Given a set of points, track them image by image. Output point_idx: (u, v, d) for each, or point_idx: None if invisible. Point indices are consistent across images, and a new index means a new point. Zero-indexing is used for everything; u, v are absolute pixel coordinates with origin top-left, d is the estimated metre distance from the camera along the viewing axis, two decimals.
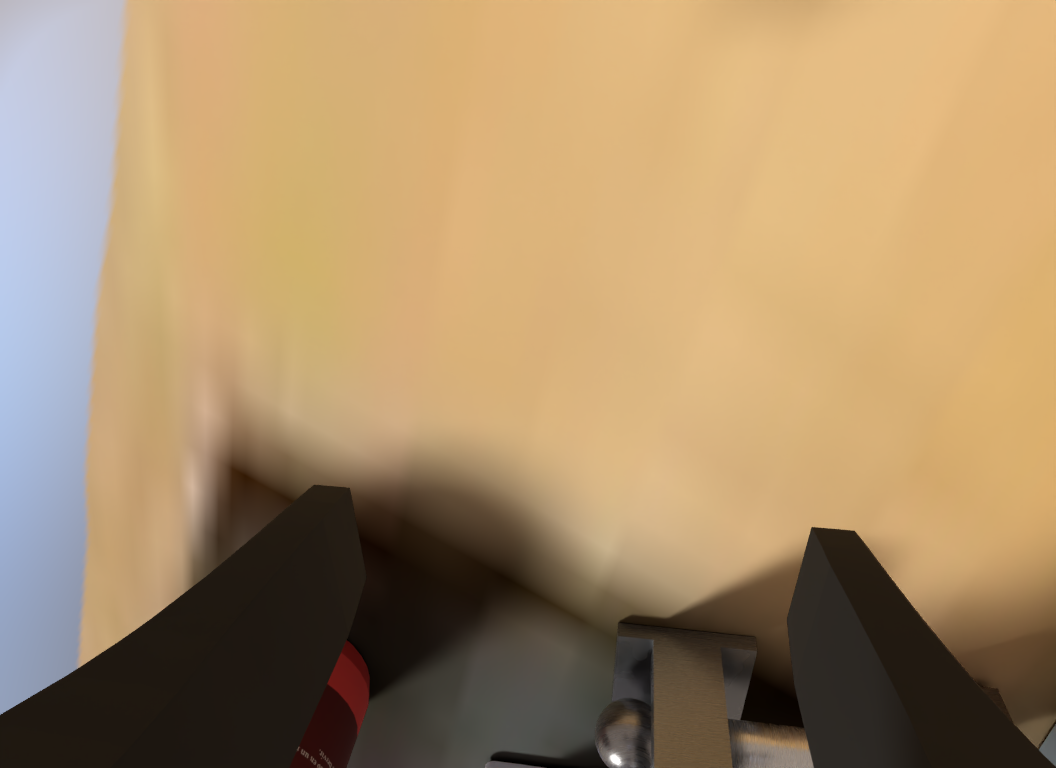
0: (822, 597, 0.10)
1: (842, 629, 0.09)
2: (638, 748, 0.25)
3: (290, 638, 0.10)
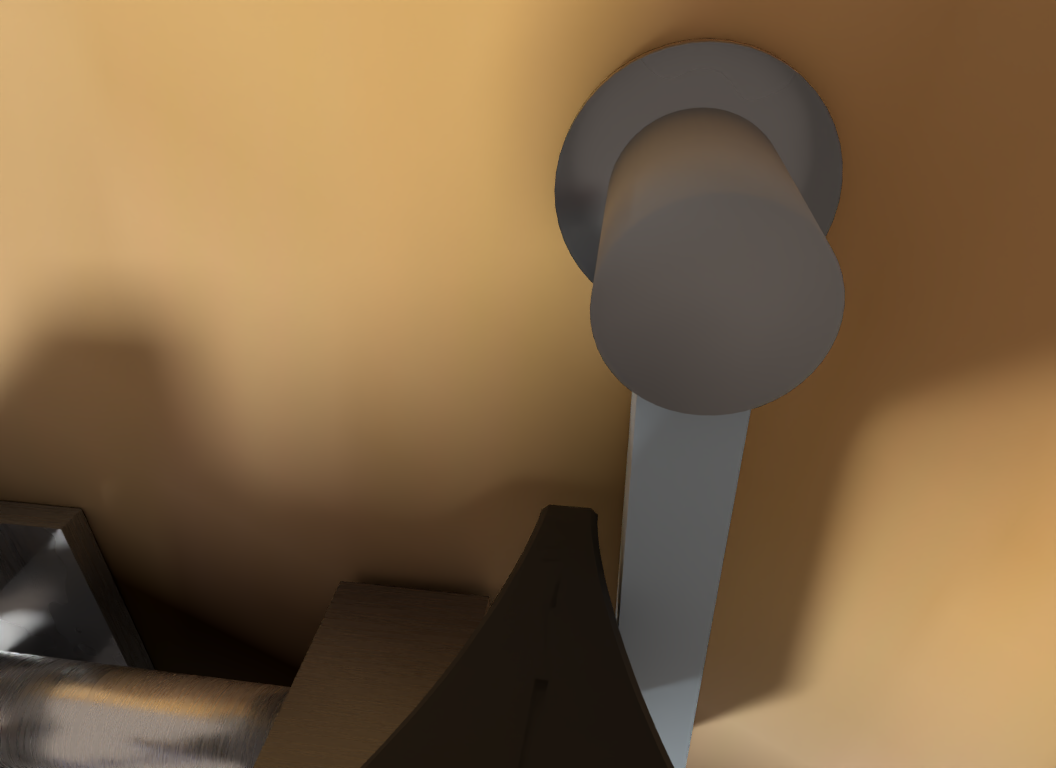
0: None
1: None
2: None
3: None
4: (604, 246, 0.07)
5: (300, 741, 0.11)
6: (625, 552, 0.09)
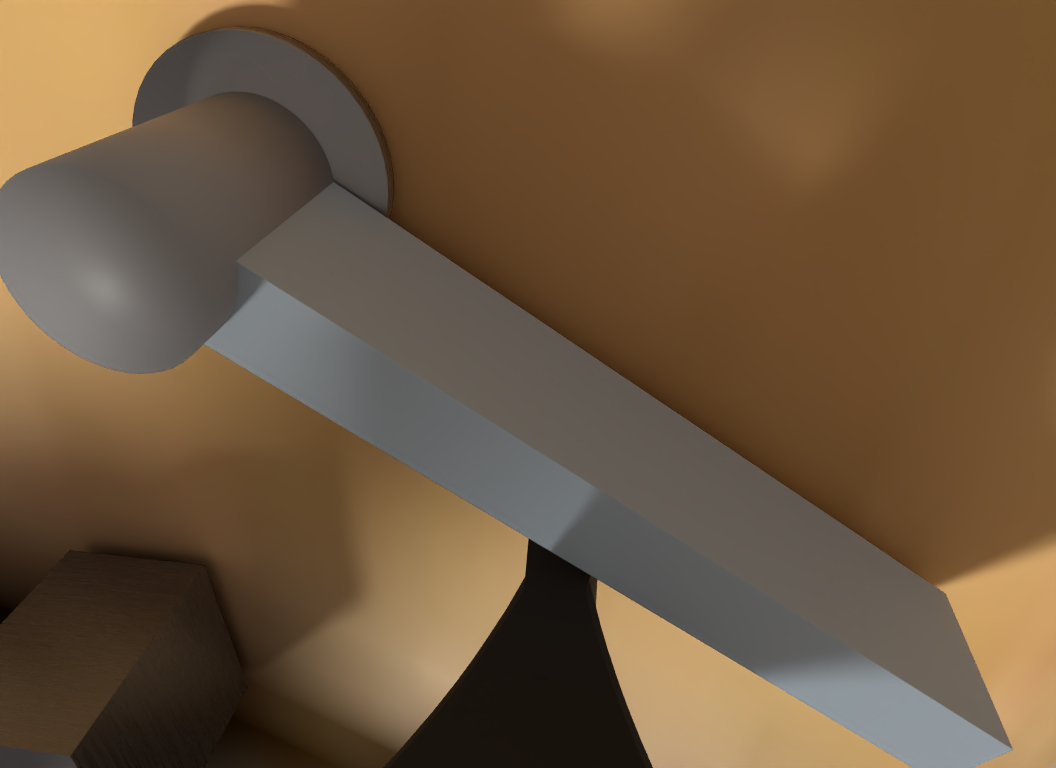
0: None
1: None
2: None
3: None
4: None
5: None
6: (408, 465, 0.09)
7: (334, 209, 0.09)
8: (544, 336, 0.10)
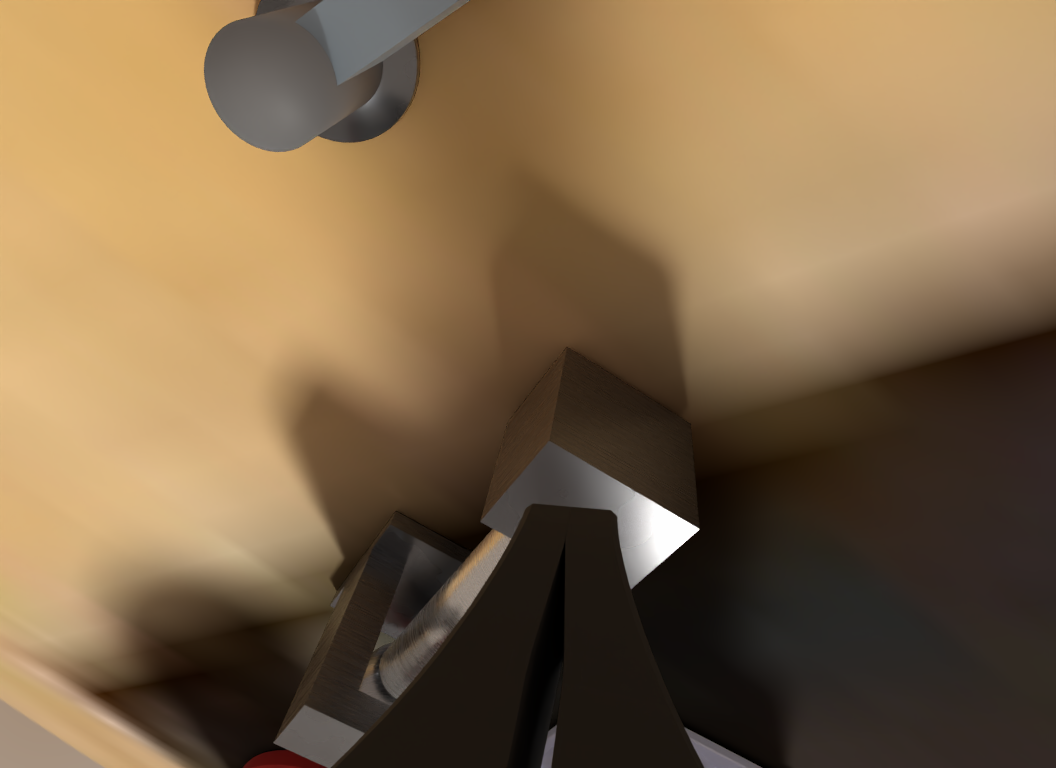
0: (565, 572, 0.10)
1: (564, 601, 0.09)
2: None
3: (545, 667, 0.09)
4: None
5: (497, 487, 0.17)
6: None
7: None
8: None
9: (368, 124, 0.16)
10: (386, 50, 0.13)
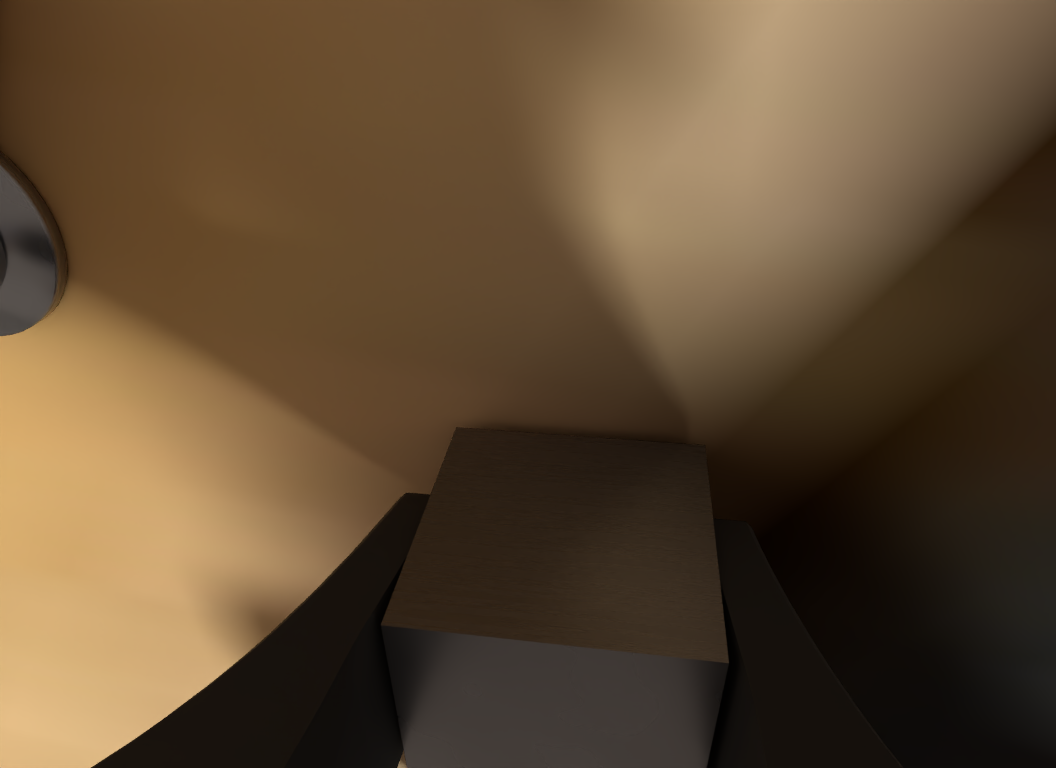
0: None
1: None
2: None
3: None
4: None
5: None
6: None
7: None
8: None
9: (33, 289, 0.12)
10: None
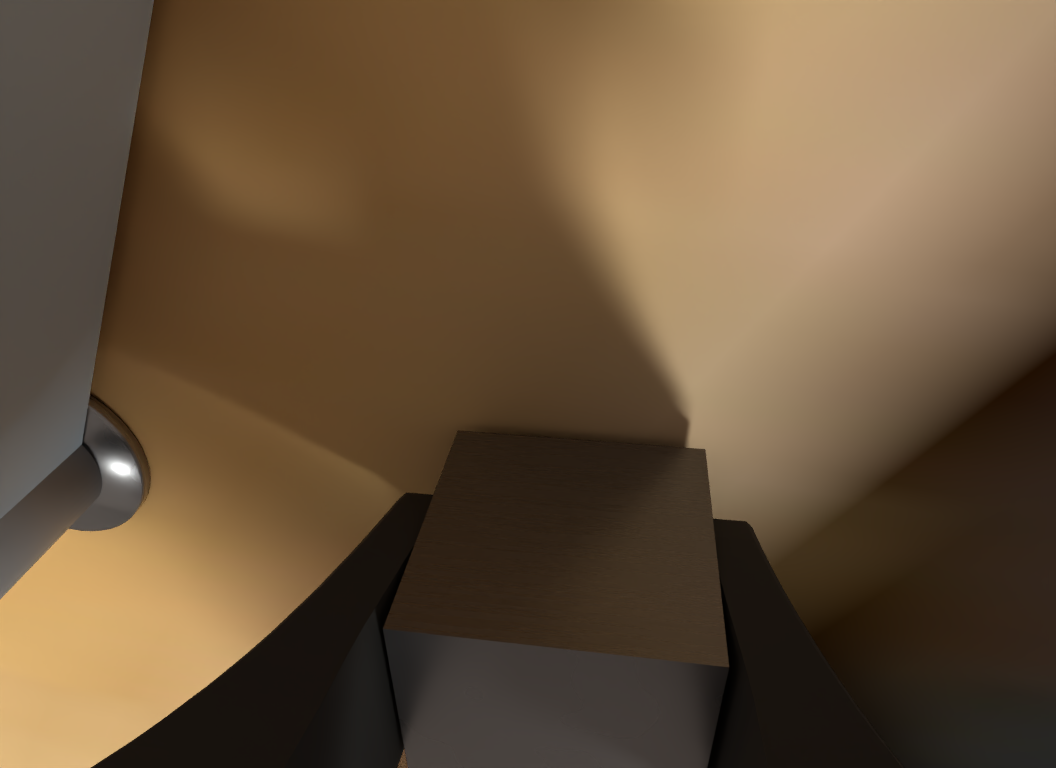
0: None
1: None
2: None
3: None
4: None
5: None
6: None
7: None
8: None
9: (122, 501, 0.14)
10: None
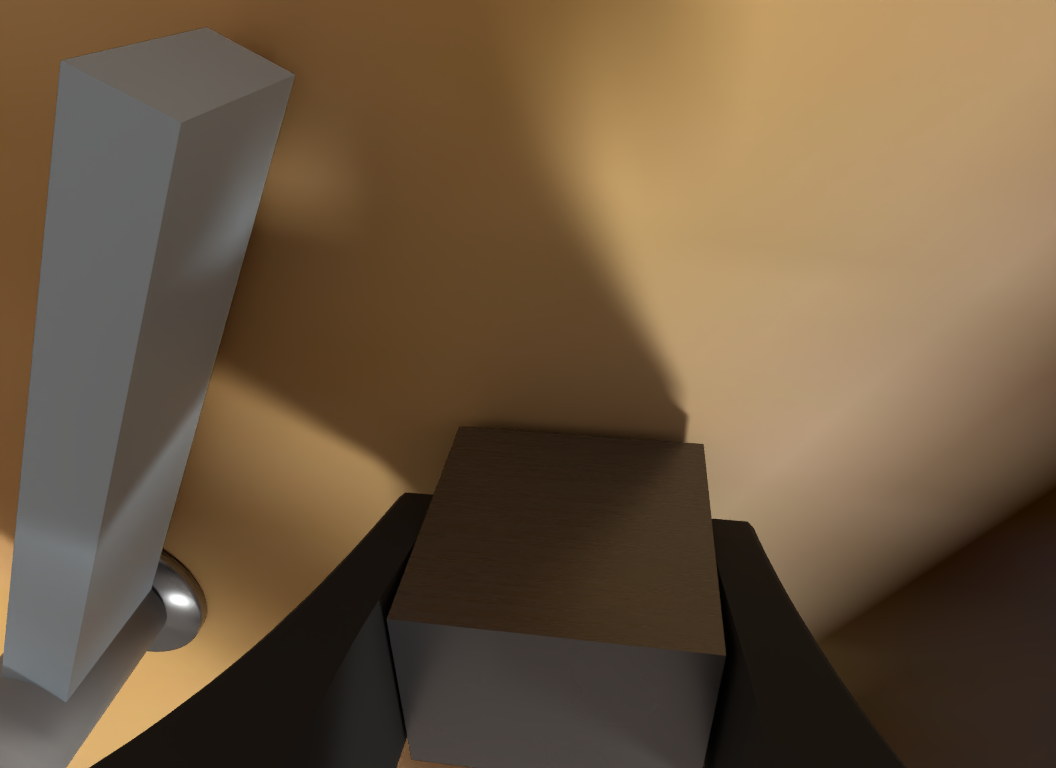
0: None
1: None
2: None
3: None
4: None
5: None
6: (81, 621, 0.12)
7: None
8: None
9: (183, 630, 0.16)
10: (73, 667, 0.13)
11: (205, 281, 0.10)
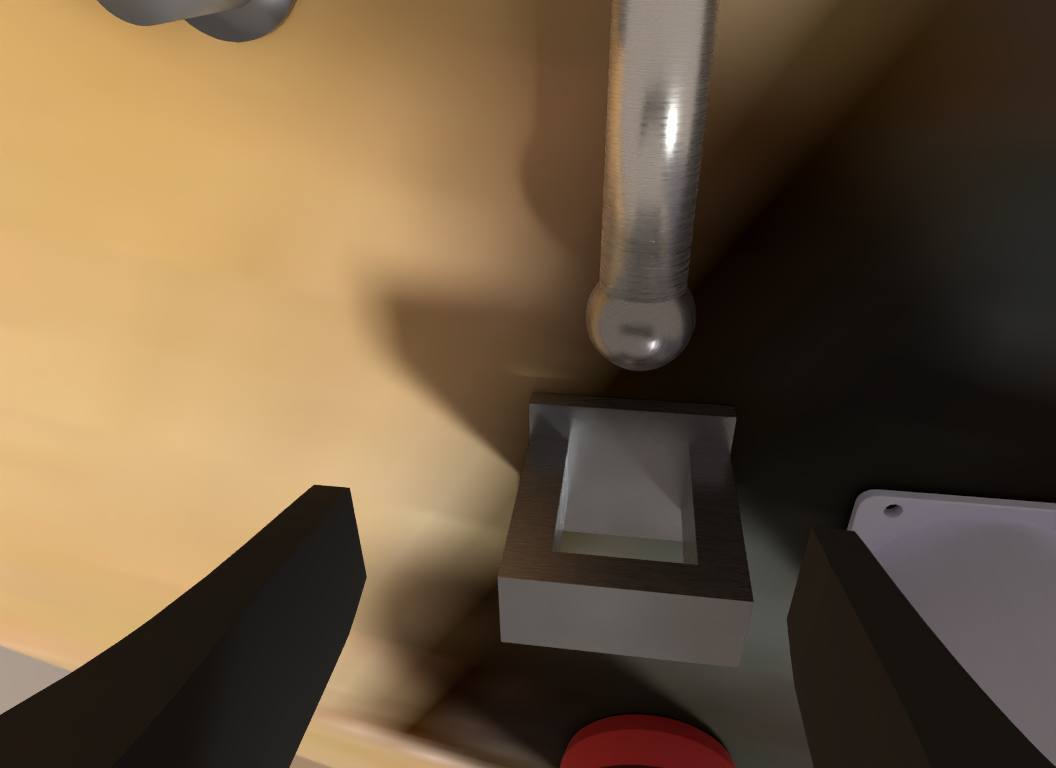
0: (822, 597, 0.10)
1: (842, 629, 0.09)
2: (601, 323, 0.16)
3: (290, 638, 0.10)
4: (188, 8, 0.14)
5: None
6: None
7: None
8: None
9: None
10: None
11: None
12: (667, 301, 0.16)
